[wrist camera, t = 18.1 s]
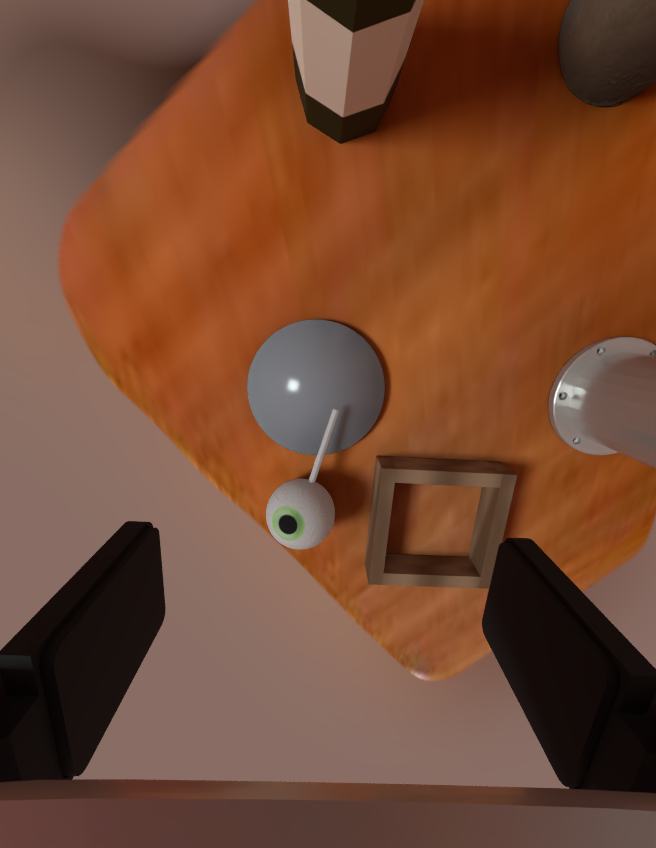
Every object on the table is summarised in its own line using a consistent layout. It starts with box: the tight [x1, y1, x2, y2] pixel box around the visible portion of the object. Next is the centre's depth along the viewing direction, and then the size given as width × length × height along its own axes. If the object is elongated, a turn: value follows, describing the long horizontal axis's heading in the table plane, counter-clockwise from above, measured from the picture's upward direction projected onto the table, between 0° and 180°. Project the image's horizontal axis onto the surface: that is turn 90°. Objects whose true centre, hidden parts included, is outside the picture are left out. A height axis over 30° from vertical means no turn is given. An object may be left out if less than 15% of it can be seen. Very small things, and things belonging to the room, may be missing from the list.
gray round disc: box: [247, 320, 385, 455], centre depth 37 cm, size 14×14×1 cm
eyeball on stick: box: [266, 409, 339, 549], centre depth 37 cm, size 7×7×15 cm
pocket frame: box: [365, 456, 517, 589], centre depth 40 cm, size 14×14×4 cm
